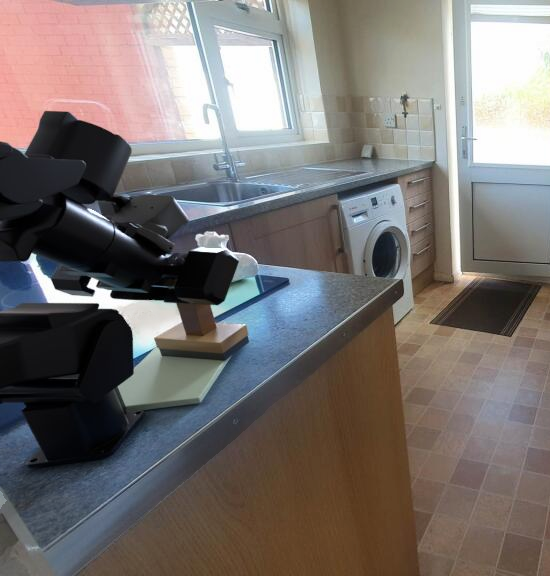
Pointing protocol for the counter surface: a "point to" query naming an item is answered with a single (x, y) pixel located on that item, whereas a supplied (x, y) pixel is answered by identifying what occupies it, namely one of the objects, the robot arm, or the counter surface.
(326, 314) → the counter surface
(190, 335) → the brush
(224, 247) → the white curved figure
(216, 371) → the board
